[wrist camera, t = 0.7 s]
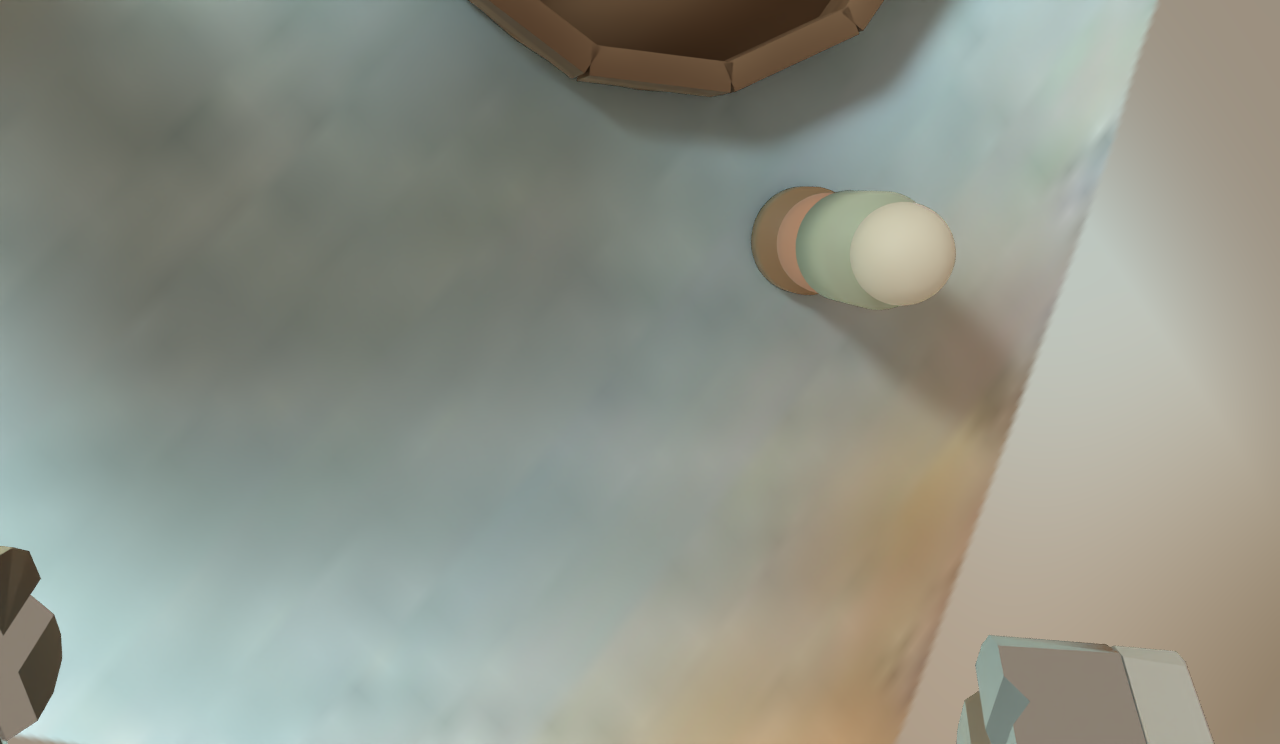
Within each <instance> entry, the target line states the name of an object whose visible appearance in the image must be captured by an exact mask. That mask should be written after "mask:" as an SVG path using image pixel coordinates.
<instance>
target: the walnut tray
mask: <svg viewBox="0 0 1280 744" xmlns="http://www.w3.org/2000/svg"><path fill="white" fill-rule="evenodd" d="M468 1H470V2H471V3H472V4H474V5H475V6H476V7H478V8H479V9H480V10H482V11H483V12H484V13H485V14H486V15H487V16H488V17H489V18H490V19H492V20H493V21H494V22H495V23H496V24H497V25H499V26H500V27H501V28H502V29H503V30H504V31H505V32H507V33H508V34H509V35H510V36H511V37H513V38H514V39H516V40H517V41H519V42H520V43H522V44H523V45H525V46H526V47H528V48H529V49H531V50H532V51H534V52H535V53H537V54H538V55H540V56H541V57H543V58H545V59H546V60H548V61H549V62H550V63H552V64H553V65H554V66H555V67H557V68H558V69H559V70H561V71H562V72H563V73H565V74H566V75H567V76H569V77H570V78H571V79H573V78H575V77H577V81H582V82H590V83H598V84H607V85H615V86H621V87H626V88H632V89H637V90H647V91H665V92H673V93H682V94H690V95H698V96H707V97H712V96H718V95H723V94H727V93H732V92H736V91H738V90H740V89H742V88H744V87H747V86H749V85H751V84H753V83H755V82H757V81H759V80H762V79H764V78H766V77H768V76H770V75H772V74H774V73H777V72H779V71H781V70H783V69H785V68H787V67H790V66H792V65H794V64H796V63H798V62H800V61H802V60H805V59H807V58H809V57H811V56H813V55H815V54H817V53H820V52H822V51H824V50H826V49H828V48H830V47H832V46H835V45H837V44H839V43H841V42H843V41H845V40H847V39H850V38H852V37H854V36H856V35H858V34H859V32H860V31H863V30H864V29H865V27H866V26H867V24H868V23H869V21H870V20H871V19H872V17H873V16H874V14H875V13H876V11H877V10H878V8H879V7H880V5H881V4H882V3H883V1H884V0H468Z"/></svg>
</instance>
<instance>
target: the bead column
mask: <svg viewBox="0 0 1280 744" xmlns="http://www.w3.org/2000/svg"><path fill="white" fill-rule="evenodd" d="M751 248H752V253H753V257H754V260H755V263H756V265H757V267H758V269H759V270H760V272H761V273H762V275H763V276H764V277H765V278H766V279H767V280H768V281H769V282H770V283H772V284H773V285H775V286H776V287H778V288H780V289H783V290H786V291H789V292H793V293H797V294H802V295H815V294H820V295H822V296H824V297H826V298H828V299H832V300H835V301H839V302H843V303H847V304H851V305H855V306H859V307H862V308H866V309H872V310H886V309H891V308H895V307H898V306H906V305H913V304H917V303H920V302H923V301H925V300H927V299H928V298H930V297H932V296H933V295H935V294H936V293H937V292H938V291H939V290H940V289H941V288H942V287H943V286H944V285H945V283H946V282H947V280H948V279H949V277H950V275H951V273H952V270H953V267H954V263H955V255H956V251H955V243H954V238H953V235H952V233H951V231H950V228H949V227H948V225H947V224H946V222H945V221H944V220H943V219H942V218H941V217H940V216H939V215H938V214H937V213H936V212H934V211H933V210H931V209H930V208H928V207H926V206H924V205H920V204H917V203H916V202H914V201H913V200H911V199H910V198H908V197H906V196H904V195H901V194H898V193H895V192H887V191H852V190H847V191H839V192H833V191H831V190H828V189H825V188H821V187H804V186H800V187H793V188H789V189H786V190H784V191H781V192H779V193H778V194H776V195H775V196H773V197H772V198H771V199H770V200H769V201H767V202H766V203H765V205H764V206H763V207H762V209H761V210H760V212H759V213H758V215H757V217H756V219H755V222H754V225H753V229H752V235H751Z"/></svg>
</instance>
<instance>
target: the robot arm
mask: <svg viewBox="0 0 1280 744" xmlns="http://www.w3.org/2000/svg"><path fill="white" fill-rule="evenodd" d="M40 579H41V578H40V575H39V573H38V571H37V568H36V566H35V564H34V561H33V559H32V557H31V555H30V552H29V551H26V550H22V549H18V548H13V547H5V546H0V744H7V741H8V740H9V739H11V738H12V737H14V736H15V735H17V734H18V733H20V732H21V731H23V730H24V729H26V728H27V727H29V726H30V725H32V724H33V723H35V722H36V721H38V719H39V717H40V715H41V714H42V712H43V710H44V708H45V706H46V705H47V703H48V701H49V699H50V698H51V696H52V694H53V692H54V688H55V685H56V681H57V677H58V673H59V669H60V665H61V661H62V646H61V633H60V630H59V627H58V624H57V621H56V619H55V616H54V614H53V613H52V612H51V611H49V610H48V609H47V608H46V607H45V606H43V605H42V604H41V603H40V602H39V601H37V600H36V599H35V598H34V597H33V596H31V595H30V594H31V593H32V591H33V590H34V588H35V587H36V585H37V584H38V582H39V581H40ZM975 666H976V672H977V678H978V685H979V691H978V692H976V693H975V694H974V695H972V696H970V697H969V698H967V699H966V700H965V701H964V705H963V709H962V713H961V717H960V721H959V725H958V731H957V743H956V744H1215V743H1214V740H1213V738H1212V735H1211V732H1210V729H1209V726H1208V723H1207V721H1206V718H1205V715H1204V712H1203V709H1202V706H1201V704H1200V701H1199V698H1198V695H1197V692H1196V689H1195V687H1194V684H1193V681H1192V678H1191V675H1190V672H1189V670H1188V667H1187V664H1186V662H1185V661H1184V659H1183V658H1182V657H1181V656H1180V655H1179V654H1178V653H1177V652H1176V651H1168V650H1157V649H1146V648H1134V647H1122V646H1112V647H1109V646H1108V645H1106V644H1093V643H1081V642H1068V641H1056V640H1043V639H1031V638H1018V637H1005V636H993V635H989V636H988V637H987V639H986V640H985V641H984V642H983V644H982V646H981V649H980V652H979V656H978V659H977V661H976V665H975Z"/></svg>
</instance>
